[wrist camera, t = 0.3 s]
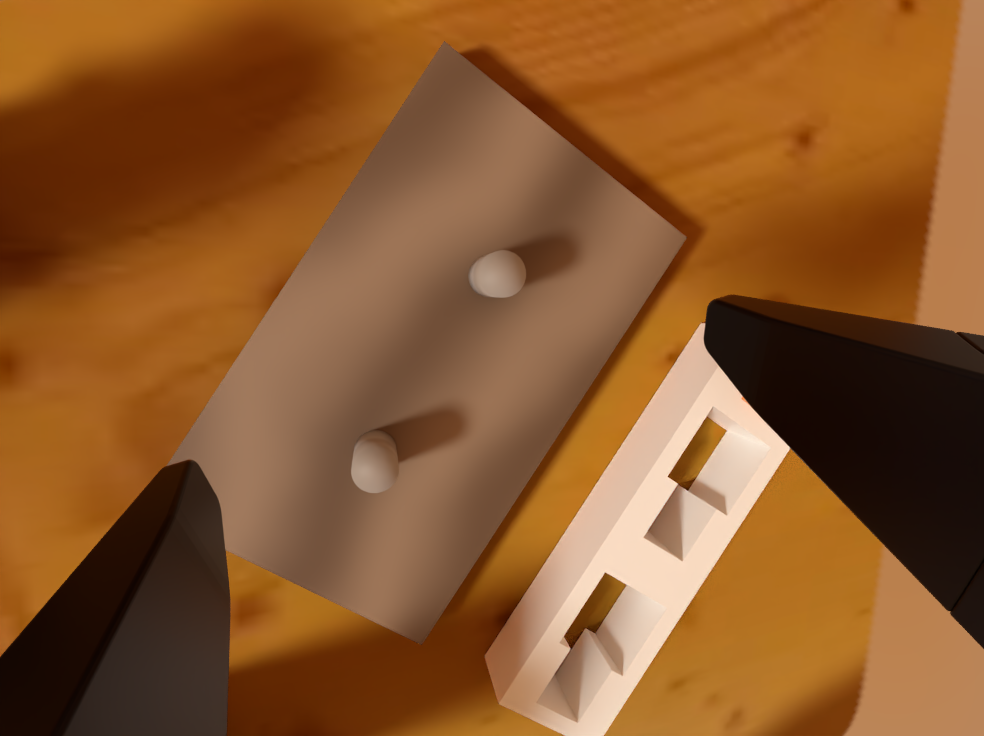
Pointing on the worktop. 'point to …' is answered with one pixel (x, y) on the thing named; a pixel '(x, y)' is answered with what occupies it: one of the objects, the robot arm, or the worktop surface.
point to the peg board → (426, 352)
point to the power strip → (635, 552)
